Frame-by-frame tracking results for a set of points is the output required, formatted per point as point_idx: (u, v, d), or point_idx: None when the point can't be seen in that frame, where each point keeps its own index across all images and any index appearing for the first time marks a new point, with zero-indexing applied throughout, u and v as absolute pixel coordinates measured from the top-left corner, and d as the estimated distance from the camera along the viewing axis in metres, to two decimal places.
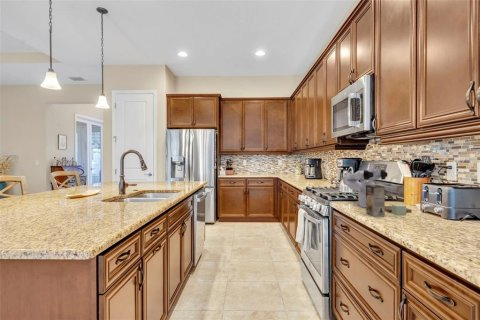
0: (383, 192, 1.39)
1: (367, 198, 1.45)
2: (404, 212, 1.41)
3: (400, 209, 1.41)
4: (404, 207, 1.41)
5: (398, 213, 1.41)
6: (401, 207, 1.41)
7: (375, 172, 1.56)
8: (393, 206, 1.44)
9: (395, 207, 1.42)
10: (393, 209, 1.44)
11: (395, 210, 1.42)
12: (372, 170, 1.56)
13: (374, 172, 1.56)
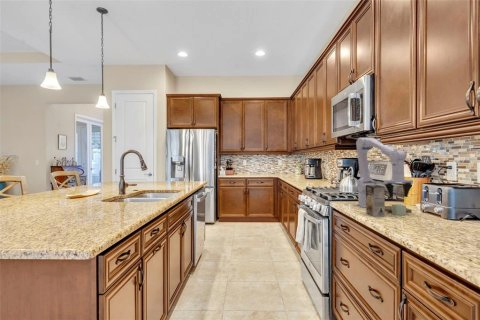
0: (383, 192, 1.39)
1: (367, 198, 1.45)
2: (404, 212, 1.41)
3: (400, 209, 1.41)
4: (404, 207, 1.41)
5: (398, 213, 1.41)
6: (401, 207, 1.41)
7: (402, 181, 1.42)
8: (393, 206, 1.44)
9: (395, 207, 1.42)
10: (393, 209, 1.44)
11: (395, 210, 1.42)
12: None
13: None
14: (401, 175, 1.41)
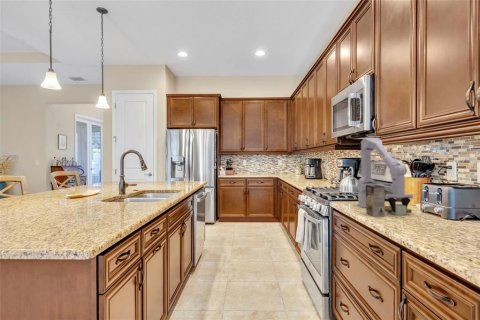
0: (383, 192, 1.39)
1: (367, 198, 1.45)
2: (404, 212, 1.41)
3: (400, 209, 1.41)
4: (404, 207, 1.41)
5: (398, 213, 1.41)
6: (401, 207, 1.41)
7: (402, 196, 1.42)
8: None
9: (395, 207, 1.42)
10: None
11: (395, 210, 1.42)
12: (400, 196, 1.41)
13: None
14: (401, 190, 1.41)
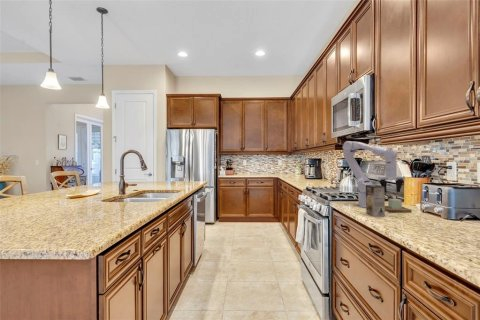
0: (383, 192, 1.39)
1: (367, 198, 1.45)
2: (400, 206, 1.50)
3: (396, 203, 1.51)
4: (400, 201, 1.50)
5: (394, 207, 1.51)
6: (397, 201, 1.51)
7: None
8: (389, 200, 1.54)
9: (391, 201, 1.52)
10: (389, 203, 1.54)
11: (391, 204, 1.52)
12: (392, 178, 1.52)
13: None
14: (393, 172, 1.52)
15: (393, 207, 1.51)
